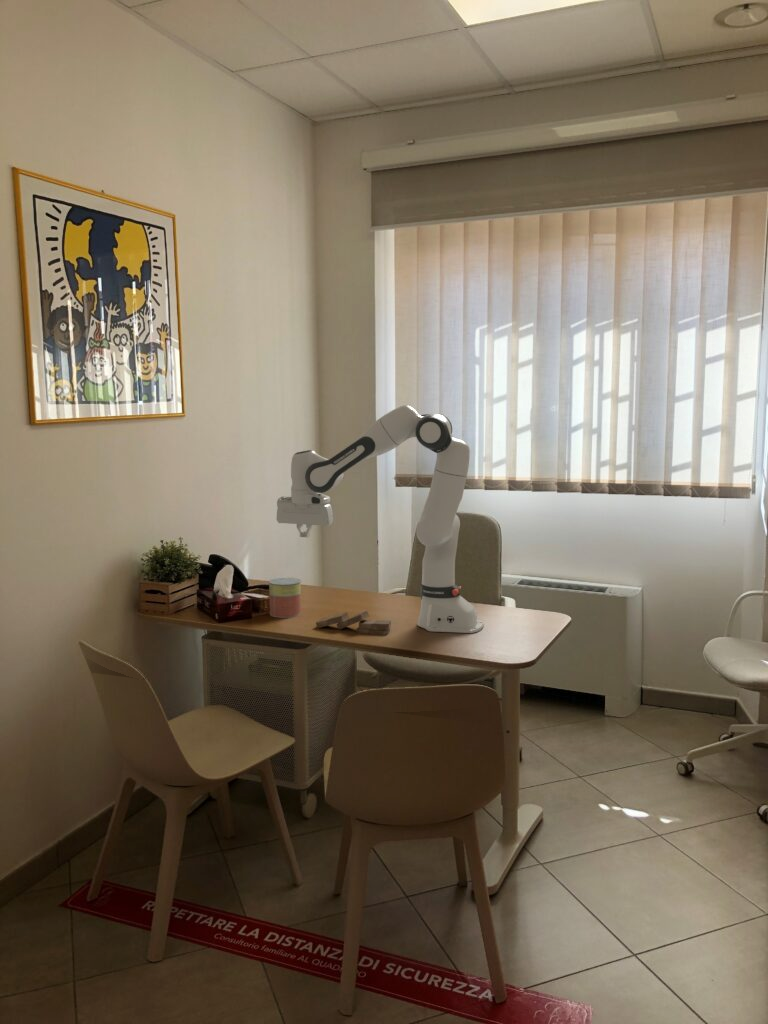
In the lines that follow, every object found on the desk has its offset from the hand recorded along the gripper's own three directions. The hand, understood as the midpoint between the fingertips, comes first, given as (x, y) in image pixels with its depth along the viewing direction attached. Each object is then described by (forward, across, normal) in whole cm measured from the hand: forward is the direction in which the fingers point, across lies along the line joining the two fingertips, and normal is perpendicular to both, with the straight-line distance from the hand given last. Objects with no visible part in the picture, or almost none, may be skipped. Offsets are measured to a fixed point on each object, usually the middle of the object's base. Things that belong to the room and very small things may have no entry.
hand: (304, 537), depth 298 cm
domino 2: (+28, +16, -7) cm, 33 cm away
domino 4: (+29, +23, -7) cm, 38 cm away
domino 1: (+28, +9, -8) cm, 30 cm away
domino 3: (+27, +24, -8) cm, 37 cm away
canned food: (+29, -10, +4) cm, 31 cm away
